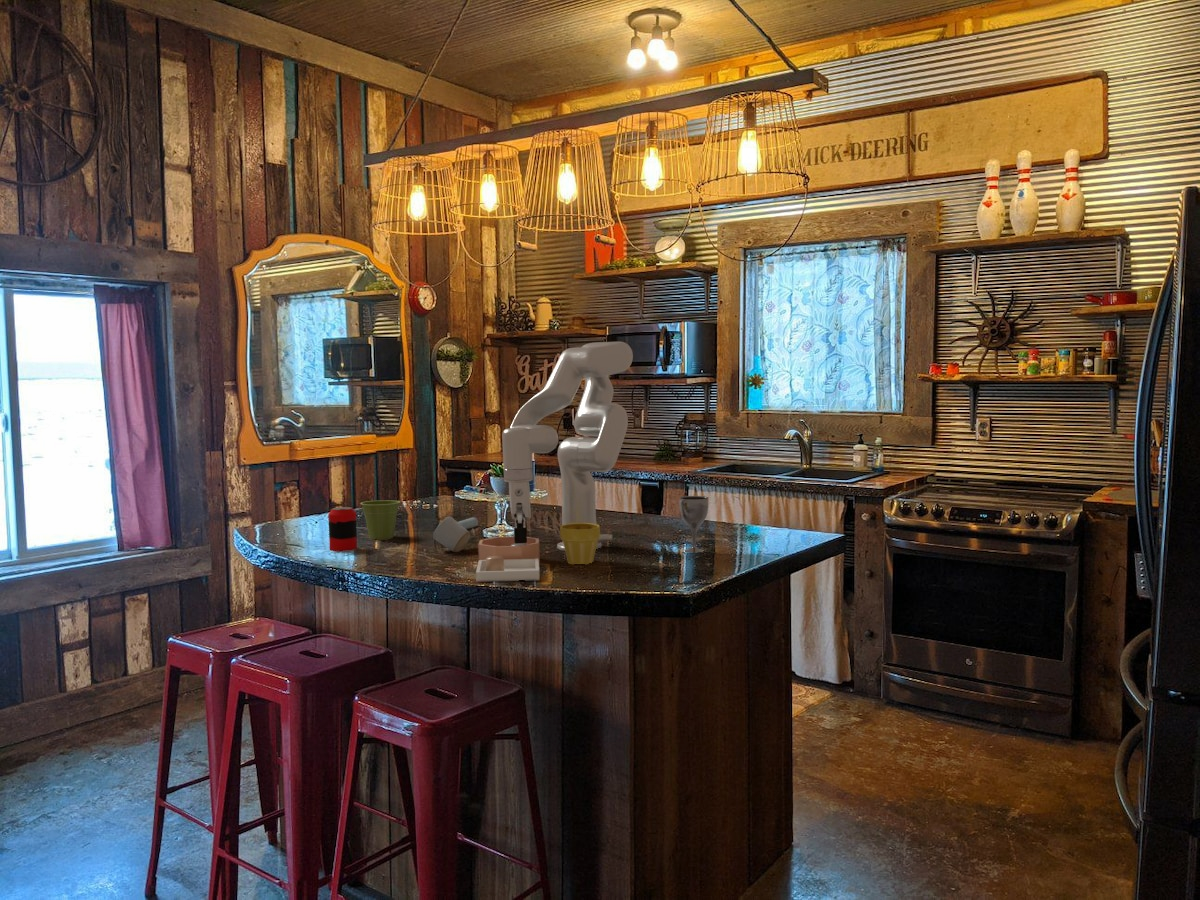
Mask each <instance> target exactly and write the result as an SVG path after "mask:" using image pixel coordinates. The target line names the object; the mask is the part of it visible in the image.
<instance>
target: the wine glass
mask: <svg viewBox="0 0 1200 900" xmlns="http://www.w3.org/2000/svg"><path fill="white" fill-rule="evenodd" d="M709 498H710V497H708V496H703V495H685V496H679V503H678V504H679V511H680V515H681V518H682V520H683V521H684V523H686V525H687V526H688V527H689V528H690V531H691V535H692V536H691V537H692V546H691V548H688V549H687V548H686V549H684V550H685V552H691V553H697V552H703V551H704V550H705V549H701V548H699V547H697V545H696V540H697V534H698V533H697V531H698V530H699V528H700V526H701V525H702V524H703V523H704V521H705V520H706V519H707V516H708V511H709V503H710V502H709Z"/></svg>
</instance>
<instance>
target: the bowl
mask: <svg viewBox="0 0 1200 900" xmlns="http://www.w3.org/2000/svg"><path fill="white" fill-rule="evenodd" d="M511 544H515V540H514V536H513V535H512V536H496V537H490V538H485V539H480V540H479V541H478V544H477V545H478V546H477V547H478V561H479V560H486V557H489V556H503V557H504V559H538V560H539V564H540V562H541V560H540V558H541V557H540V539H539V538H536V537H531V536H530V537H529V536H527V543H525V544H527V545H522V546H511Z"/></svg>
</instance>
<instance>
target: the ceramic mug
mask: <svg viewBox="0 0 1200 900" xmlns="http://www.w3.org/2000/svg"><path fill="white" fill-rule="evenodd" d="M458 522H459V521H457V520H455V519H454V518H453V516H446V517H445V518H444V519H442V521H441V522H440V523H439V524H438V525H437V527H436V528H435V529H436V530H435V529H434V531H435V532H434V531H433V534H432V538H433V540H435V541H437V542H438V543H439V544H441V545H442V546H444V547H445V548H446V549H448V550H449V551H451V552H453V553H459V552H461V551H462V550H463V549H464V548H465V546H466V545H467V544H468V543H469V541H470V539H471V532H470V531H468V529H465V528H464V527H463V526H461V525H460V524H459V523H458Z"/></svg>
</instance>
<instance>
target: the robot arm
mask: <svg viewBox="0 0 1200 900" xmlns="http://www.w3.org/2000/svg"><path fill="white" fill-rule="evenodd" d="M633 358H634V355H633V349H632V348H631V347H630V345H629V344H628V343H626V342H625V341H599V342H598V341H597V342H596V341H595V342H589V343H586V344H584V345H582V346H578V347H577V346H576V347H569V348H566V349H565V350H563V351H562V352H561V353H560V355H559V357H558V360H557V361H556V363H555V366H554V367H553V369H552V372H551V373H550V376H549V377H548V379H547V381H546V382H545V385H544V387H543V389H542V390H540V391H539V392H538V393H536V394H535V395H533V397H532V398H530V399H529V400H528V401H527V402H525V403H524V404H523V405H522V407H520V409H519V410H518V411H517V413H516V414H515V416H514V419H513V420H512V422H511V425H510V427H509V428H505V429H504V430H503V431H502V433H501V435H502V436H501V437H502V438H501V439H502V461H503V462H502V463H503V482H505V483H508V492H509V495H508V496H509V505H510V506H509V507H510V512H511V519H512V520H514V523H513V524H514V528H513V535H514V540H515V543H516V544H517V543H527V537H528V528H527V527H528V526H527V524H528V523H527V520H526V518H527V519H528V520H530V519H531V517H532V516H531V513H532V512H531V488H530V482H531V481H533V480H534V478H533V477H534V476H533V474H534V473H533V454H549V453H551V452H552V451H554V450H555V449H556V447H558V448H557V461H558V465H559V466H558V467H559V469H560V477H561V478H560V479H561V513H562V515H561V516H562V517H561V521H562V525H564V524H570V523H593V524H597V518H596V515H597V513H596V512H597V511H596V503H597V502H596V501H597V500H596V483H595V480H594V477H593V475H592V473H606V472H609V471H611V470H612V469H613V468H614V467H615V465H616V463H617V460H618V457H619V456H620V455H619V454H620V452H621V449H622V446H623V443H624V440H625V437H626V434H627V431H628V427H629V426H628V425H629V419H628V413H627V411H626V409H625V408H624V407H623V406H622V405H620V404H618V403H612V401H613V399H614V398H613V397H614V393H615V392H614V387H613V383H612V382H611V380H610V377H609V376H612V375H616V374H619V373H623V372H625V371H627V370H628V369H629V368H630V366H631V365H632V362H633ZM583 380H584V390H583V394H582V396H581V399H580V402H579V405H578V408H577V410H576V413H575V417H574V421H573V427H574V429H575V431H576V433H578V434H579V435H582V436H571V437H568V438H565V439H563V441H561V442H560V444H559V434H558V432H557V431H556V429H555V428H554V427H552V426H550V425H545V424H538V423H539V422H541V420H542V419H544V418H546V417H547V416H550V415H551V414H553V413H557V412H558V411H561V410H563V409H565V408H566V407H568V406H570V405H571V404H572V402H573V400H574V397H575V396H576V393H577V391H578V390H579V387H580V386H581V383H582V382H583ZM558 444H559V446H558ZM562 525H561V526H562ZM602 542H613V534H606V533H605V534H604V533H602V534H601V533H600V538H599V539H598V540H597V545H596V549H597V550H599V549H598V548H600V549H601V548H602V546H603V545H602ZM556 545H557V546H556V548H557V550H560V551H565V548H564V543H563V541H562V542H558V543H557V544H556Z"/></svg>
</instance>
